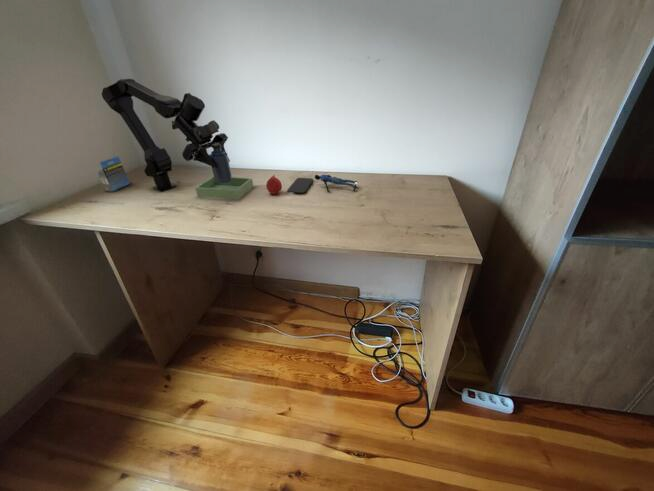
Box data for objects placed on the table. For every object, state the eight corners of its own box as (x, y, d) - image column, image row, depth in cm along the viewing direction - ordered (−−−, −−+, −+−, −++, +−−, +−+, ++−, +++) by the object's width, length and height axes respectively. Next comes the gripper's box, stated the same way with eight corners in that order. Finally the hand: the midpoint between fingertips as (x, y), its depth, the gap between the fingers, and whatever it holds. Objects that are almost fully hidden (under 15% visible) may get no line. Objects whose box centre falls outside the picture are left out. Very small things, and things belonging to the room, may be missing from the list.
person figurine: (358, 188, 124) (317, 179, 126) (360, 177, 121) (318, 169, 124) (354, 198, 115) (310, 188, 117) (356, 187, 112) (311, 178, 115)
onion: (279, 198, 113) (277, 178, 108) (265, 197, 114) (262, 177, 109) (284, 192, 117) (282, 173, 113) (270, 191, 118) (268, 172, 114)
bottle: (211, 180, 110) (203, 144, 103) (226, 176, 114) (219, 141, 107) (220, 184, 106) (212, 147, 99) (235, 179, 110) (228, 144, 103)
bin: (197, 197, 115) (195, 187, 113) (216, 185, 126) (214, 175, 123) (238, 201, 111) (236, 190, 109) (253, 188, 122) (251, 178, 120)
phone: (286, 191, 116) (297, 177, 128) (286, 193, 117) (297, 179, 129) (304, 192, 115) (313, 178, 127) (304, 194, 115) (314, 180, 127)
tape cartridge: (123, 183, 130) (111, 155, 123) (130, 184, 129) (119, 155, 122) (105, 191, 122) (92, 161, 116) (113, 192, 122) (99, 162, 115)
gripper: (178, 118, 92) (215, 157, 94) (218, 109, 106) (249, 143, 109) (167, 142, 98) (201, 178, 101) (206, 130, 113) (235, 162, 115)
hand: (223, 164), depth 106 cm, fingers closed on bottle, 6 cm apart
